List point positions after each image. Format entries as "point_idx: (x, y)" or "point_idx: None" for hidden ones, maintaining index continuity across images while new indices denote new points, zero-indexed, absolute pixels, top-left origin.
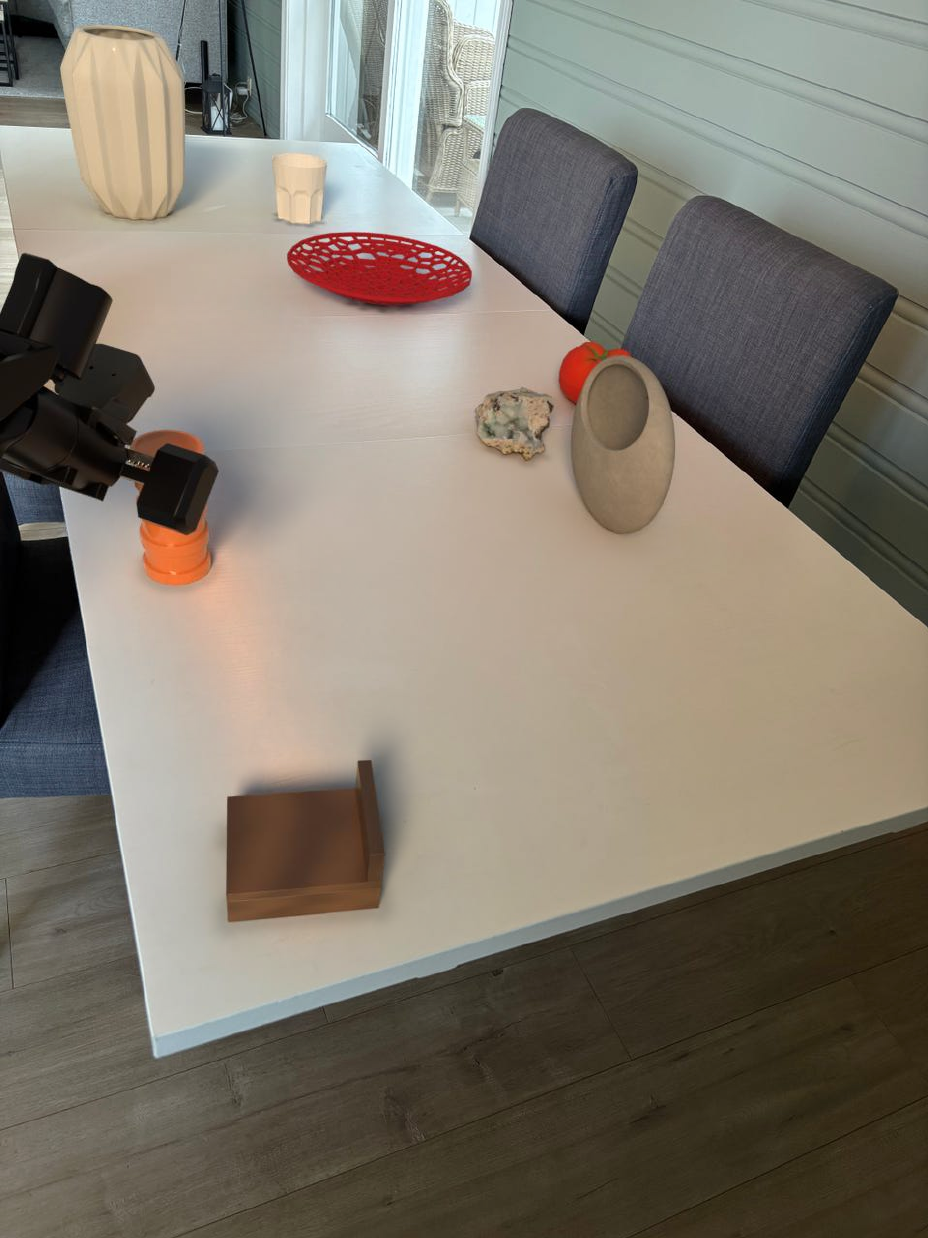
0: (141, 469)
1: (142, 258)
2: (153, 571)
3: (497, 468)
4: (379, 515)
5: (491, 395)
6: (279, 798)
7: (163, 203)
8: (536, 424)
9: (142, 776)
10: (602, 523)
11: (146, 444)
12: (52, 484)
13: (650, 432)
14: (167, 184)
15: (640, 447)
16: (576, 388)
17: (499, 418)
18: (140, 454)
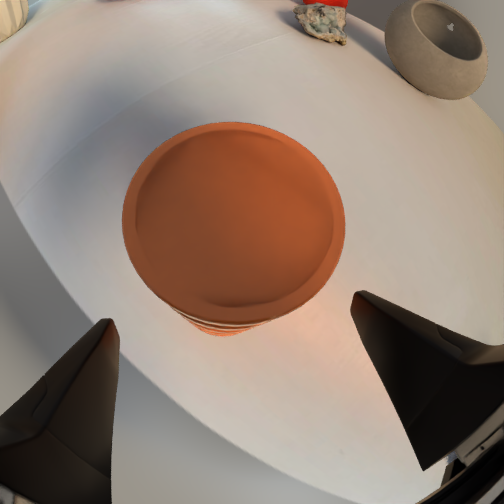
0: (498, 501)
1: (16, 43)
2: (221, 335)
3: (337, 53)
4: (325, 113)
5: (309, 7)
6: None
7: (21, 20)
8: (341, 23)
9: (392, 498)
10: (426, 91)
11: (174, 230)
12: (111, 501)
13: (484, 56)
14: (21, 12)
15: (479, 63)
16: (325, 3)
17: (325, 21)
18: (498, 493)
